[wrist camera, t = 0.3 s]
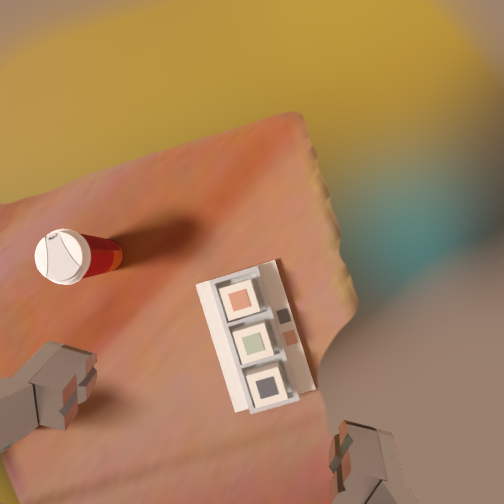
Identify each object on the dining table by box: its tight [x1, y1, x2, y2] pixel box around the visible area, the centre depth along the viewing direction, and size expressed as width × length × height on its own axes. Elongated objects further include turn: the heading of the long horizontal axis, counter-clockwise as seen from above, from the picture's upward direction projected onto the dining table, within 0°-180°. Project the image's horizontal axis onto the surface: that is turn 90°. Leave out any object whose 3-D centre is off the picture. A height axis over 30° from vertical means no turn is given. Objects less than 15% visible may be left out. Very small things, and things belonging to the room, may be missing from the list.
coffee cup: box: [35, 229, 123, 285], centre depth 59 cm, size 8×8×15 cm
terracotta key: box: [219, 278, 261, 321], centre depth 60 cm, size 6×6×3 cm
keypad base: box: [196, 260, 316, 414], centre depth 62 cm, size 24×15×4 cm, turn 17°
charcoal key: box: [246, 361, 288, 408], centre depth 59 cm, size 6×6×3 cm
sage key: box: [232, 319, 274, 364], centre depth 60 cm, size 6×6×3 cm
